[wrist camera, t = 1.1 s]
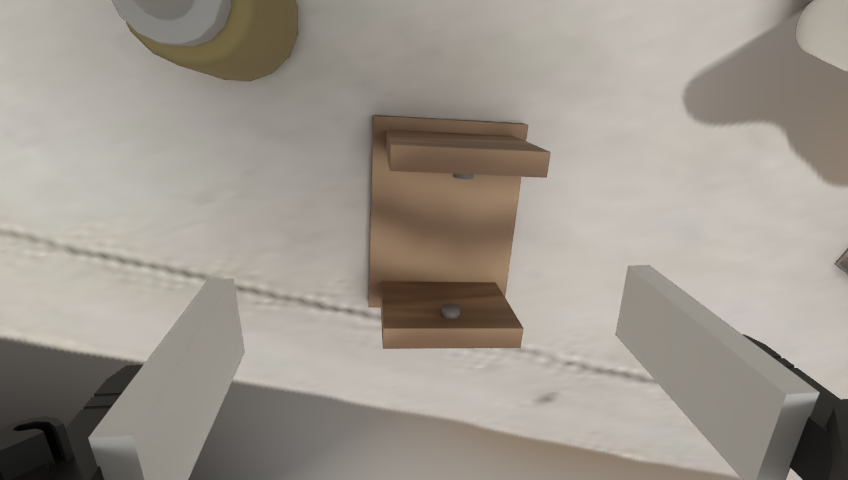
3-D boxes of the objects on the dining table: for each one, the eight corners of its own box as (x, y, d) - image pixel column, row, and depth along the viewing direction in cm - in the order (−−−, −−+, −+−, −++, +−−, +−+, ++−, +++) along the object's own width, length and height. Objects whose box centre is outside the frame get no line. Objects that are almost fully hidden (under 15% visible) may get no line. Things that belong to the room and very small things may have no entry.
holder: (373, 115, 36) (374, 128, 28) (523, 123, 37) (568, 138, 29) (368, 300, 41) (368, 359, 33) (499, 301, 43) (531, 358, 34)
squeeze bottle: (236, 101, 35) (110, 130, 18) (161, -5, 32) (-73, -91, 15) (328, 43, 34) (288, 16, 17) (260, -71, 31) (131, -237, 14)
